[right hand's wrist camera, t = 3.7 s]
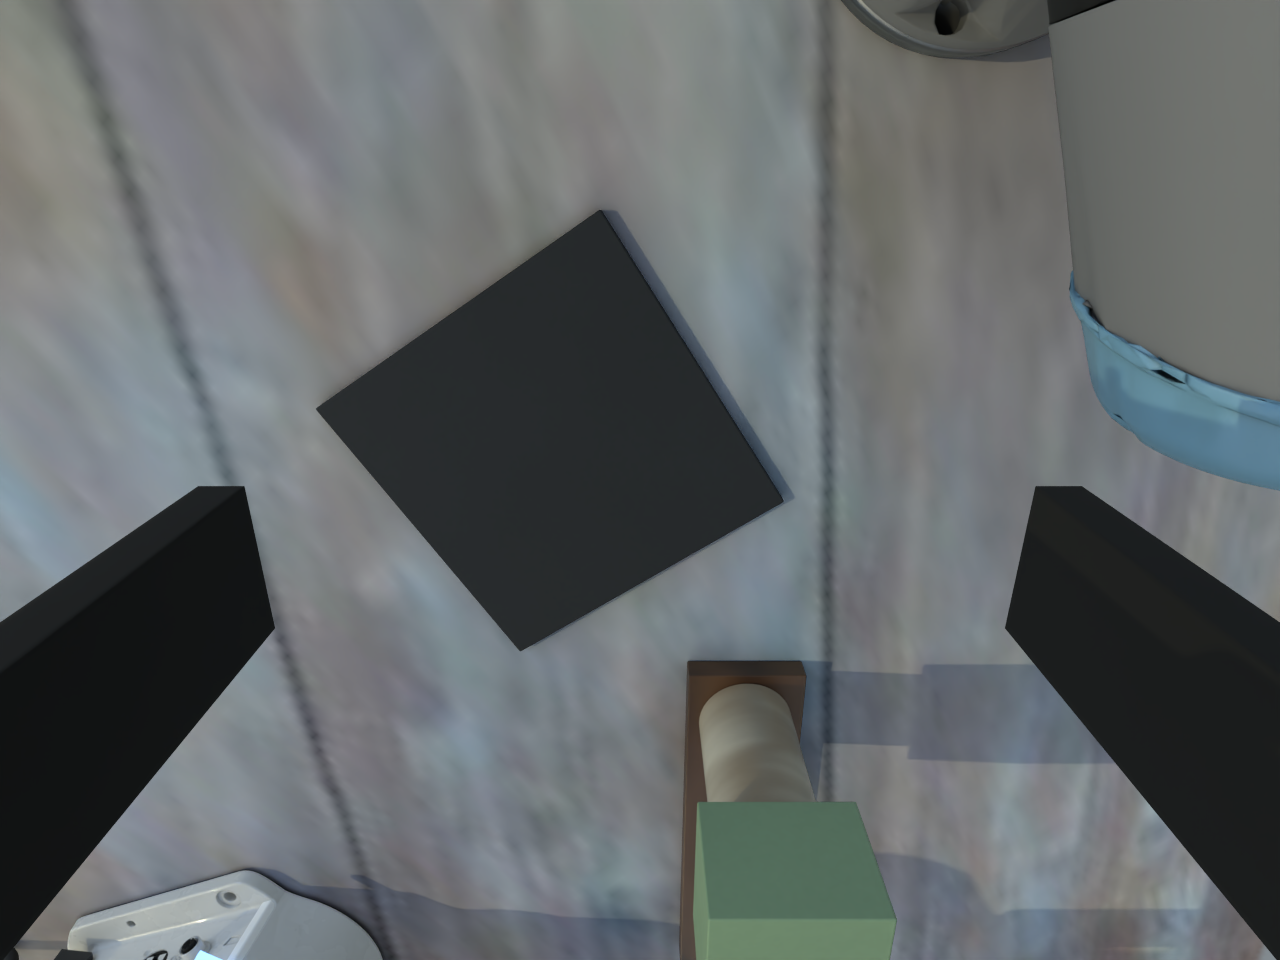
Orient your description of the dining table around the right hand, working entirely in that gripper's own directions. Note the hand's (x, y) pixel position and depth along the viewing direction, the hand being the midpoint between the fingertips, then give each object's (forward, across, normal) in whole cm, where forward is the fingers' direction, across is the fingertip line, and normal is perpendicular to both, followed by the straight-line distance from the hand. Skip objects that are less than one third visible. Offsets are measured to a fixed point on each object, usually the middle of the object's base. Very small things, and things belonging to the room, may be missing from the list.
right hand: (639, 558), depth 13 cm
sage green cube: (+15, +6, -24) cm, 30 cm away
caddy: (+27, +6, -34) cm, 43 cm away
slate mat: (+27, -4, -8) cm, 28 cm away
